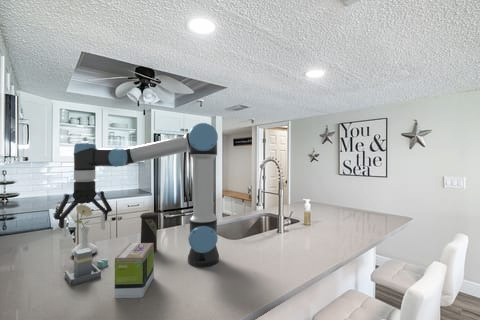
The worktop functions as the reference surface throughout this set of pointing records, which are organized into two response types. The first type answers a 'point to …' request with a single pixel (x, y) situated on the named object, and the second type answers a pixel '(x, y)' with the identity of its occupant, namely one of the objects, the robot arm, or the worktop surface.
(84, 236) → the flower in vase
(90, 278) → the grey square tray
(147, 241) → the container
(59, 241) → the worktop surface
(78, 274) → the grey box with stripe
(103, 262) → the clip
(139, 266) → the tea box
